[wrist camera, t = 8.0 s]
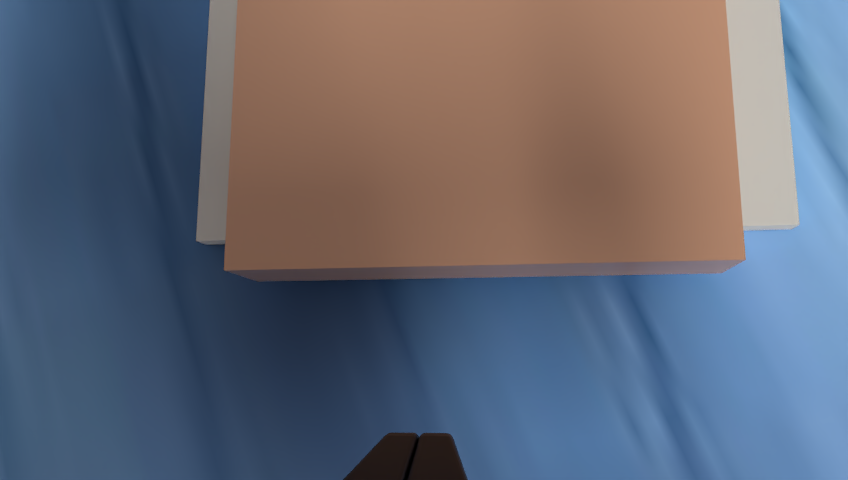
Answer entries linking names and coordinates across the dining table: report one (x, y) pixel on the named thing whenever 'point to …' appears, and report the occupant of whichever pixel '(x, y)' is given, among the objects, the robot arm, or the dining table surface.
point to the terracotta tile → (481, 140)
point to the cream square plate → (752, 96)
